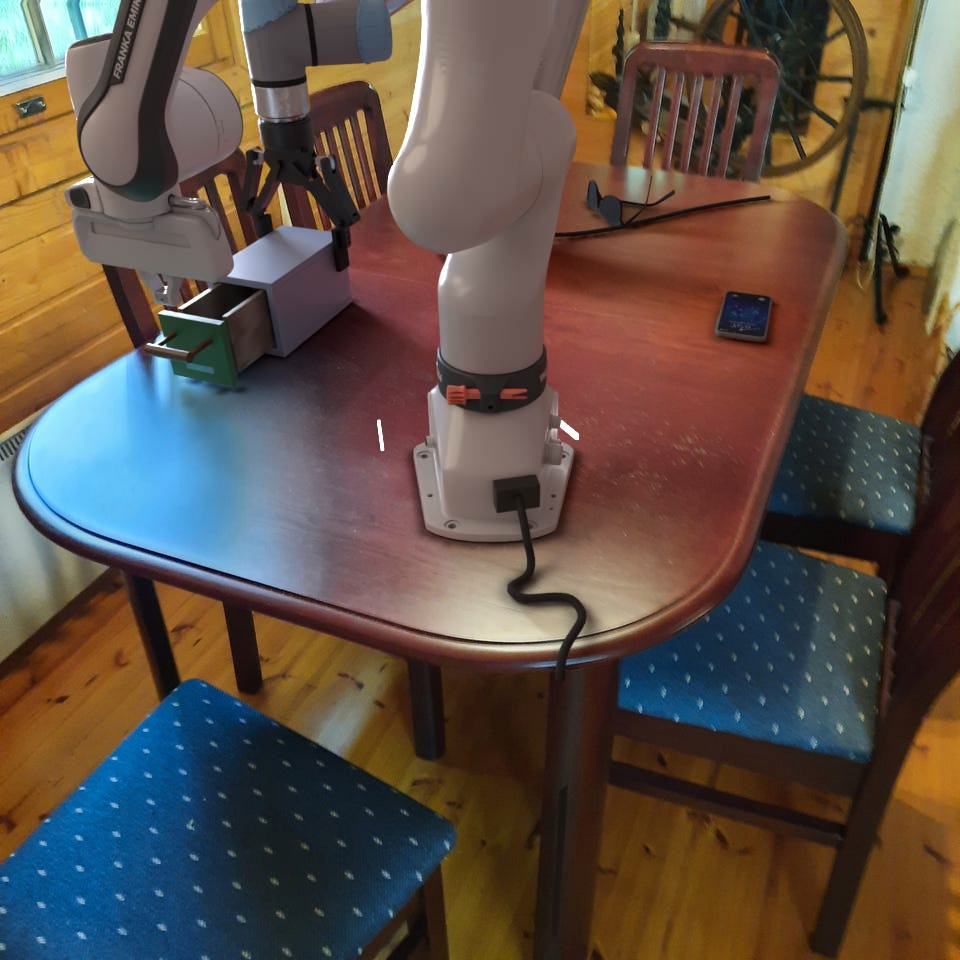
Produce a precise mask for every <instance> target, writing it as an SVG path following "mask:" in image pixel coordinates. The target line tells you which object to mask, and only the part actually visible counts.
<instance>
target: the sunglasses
mask: <svg viewBox="0 0 960 960" xmlns="http://www.w3.org/2000/svg"><path fill="white" fill-rule="evenodd" d="M652 181H653V175H650V178H649V184H648V191H647V196H646V200H645V202H644V203H641V202H635V201H629V200H623V199H620V198H619V197H617V196H615V195H613V194H605V195H604V196H603V197H602V194H601V193H600V190H599V186H598V184H597V181H595V180H594V179H590V180H589V181H588V185H587V191H586V196H585V200H586V203H587V204H588V206H589V207H590V208H591V209H592V210H593V211H594V212H596V213H597V214H598V215H599V216H601V218H603V219H604V220H605V221H607V222H608V223H609V224H611V225H613V226H616V225H624V224H627V223H629V222H633V221H635V219H636V218H638V217H639V216H640V214H642V212H643V211H644V210H645V209H646V208H652V207H656V206H658V205H659V204H660V205H661V203H664V202H665V201H666V200H668V199H669V198H671V197H673V196H675V194H676V189H672V190H671V191H670V192H668V193H667V194H666V195H664V196H663V197H661V198H660V199H658V200H657V201H655V202H652V203H648V202H649V198H650V197H649V196H650V192H651V187H652ZM623 205H629V206H635V207H641V208H640V209H639V210H638V211H637V212H636V213H635V214H634V215H633V216H631V217H630V218H629V219H628V220H626V221H625V222H624V221H623V215H624V208H623V207H624V206H623Z"/></svg>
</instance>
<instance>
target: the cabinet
mask: <svg viewBox="0 0 960 960" xmlns="http://www.w3.org/2000/svg"><path fill="white" fill-rule="evenodd" d="M232 257H233V261H234V268H233V270H232V272H231V273H230V274H229V275H228V276H226V277H225V278H223V279H222V280H220V281H218V282H222V283H228V284H234V285H240V286H246V287H252V288H258V289H264V290H267V296H268V302H269V307H270V312H271V318H272V323H273V329H274V334H275V340H276V344H275V345H274V346H273V347H272V348H270V349H269V350H268V351H267V352H265V353H264V354H267V355H272V356H278V357H282V358H286V357H288V356H289V354H291V353H292V352H293V351H295V350H296V349H297V348H298V347H299V346H300V345H302V343H304V342H305V341H307V340H308V339H309V338H310V337H311V336H312V335H314V334H315V333H316V332H318V331H319V330H320V329H321V328H322V327H323V326H325V325H326V324H327V323H328V322H329V321H331V320H332V319H333V318H334V317H335V316H337V315H338V314H339V313H340V312H341V311H343V310H344V309H345V308H346V307H348V306H349V305H350V304H351V303H353V297H352V291H351V281H350V275H349V274H350V273H349V266H348V267H347V268H346V269H344V270H343V271H342V272H336V264H335V257H334V249H333V241H332V233H331V231H328V230H321V229H314V228H306V227H299V226H291V225H285V224H282V225H280V226H279V227H277V228H276V229H275V228H274V231H272V232H271V233H269V234H267V235H266V236H264V237H263V238H261V239H260V238H259V239H257V240H256V241H255V242H253V243H251V244H249V245H248V246H246V247H245V248H243V249H241V250H240V251H238V252H236V253H235V254H232ZM218 282H216V283H211V282H206V283H207V284H206V285H207V288H208V289H209V288H211V287H212V286H214V285H215V284H217V283H218Z"/></svg>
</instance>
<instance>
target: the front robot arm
mask: <svg viewBox="0 0 960 960" xmlns="http://www.w3.org/2000/svg"><path fill="white" fill-rule="evenodd" d="M218 2H220V0H120V2H119V6H118V9H117V13H116V17H115V21H114V25H113V29H112V31H110V32H105V33H102V34H99V35H93V36H90V37H86V38H82V39H78V40H76V41H74V42H73V43H72V44H70V45H69V47H67V49H66V51H65V59H64V63H65V64H64V65H65V67H64V68H65V76H66V81H67V87H68V92H69V93H68V94H69V96H70V100H71V104H72V110H73V114H74V115H75V120H76V139H77V145H78V150H79V153H80V156H81V159H82V161H83V163H84V166H85V167H86V168H87V170H88V171H89V173H90V174H91V176H89V177H87V178H85V179H82V180H80V181H78V182H75V183H73V184H72V185H70V186H67V187H66V188H64V189H63V193H62V194H63V198H64V200H65V202H66V204H67V206H68V207H70V208H71V210H70V220H71V224H72V228H73V232H74V235H75V238H76V241H77V244H78V248H79V250H80V252H81V254H82V255H83V256H84V257H85V258H86V260H88V261H89V262H90V263H94V264H100V265H105V266H112V267H117V268H118V267H119V268H123V269H129V270H136V271H137V275H138V278H139V279H140V280H141V282H143V284H144V286H146V288H147V289H148V290H149V291H150V293H151V297H152V301H153V303H154V304H156V305H162V306H168V307H174V308H176V307H177V306H179V305H180V304H182V301H183V299H182V294H181V290H180V289H181V288H182V284H183V281H184V279H189V280H195V281H201V282H206V283H207V282H211V283H216V282H218V281H220V280H222V279H223V278H225V277H226V276H228V275H229V274H230V273H231V272H232V270H233V268H234V261H233V257H232V256H233V253H232V250H231V246H230V244H229V240H228V238H227V234H226V231H225V229H224V227H223V224H222V222H221V218H220V214H219V213H218V211H217V209H215V208H214V207H213V206H212V205H210V204H209V203H208V202H207V201H206V200H205V199H202V198H197V197H195V198H191V197H187V196H183V195H182V191H181V187H180V183H182V182H184V181H185V180H188V179H190V178H192V177H194V176H196V175H198V174H200V173H202V172H204V171H206V170H207V169H208V168H210V167H212V166H214V165H217V164H219V163H220V162H222V161H224V160H225V159H227V158H229V157H230V156H231V155H232V154H234V153H235V152H237V150H238V149H239V147H240V145H241V143H242V140H243V135H244V120H243V118H244V117H243V113H242V109H241V106H240V104H239V101H238V99H237V97H236V95H235V94H234V92H233V91H232V89H231V88H230V86H229V85H228V84H227V83H226V82H225V81H224V80H223V79H222V78H220V76H218V75H217V74H216V73H214V72H211V71H209V70H207V69H203V68H195V67H192V66H190V65H187V64H185V63H186V60H187V57H188V53H189V51H190V47H191V43H192V40H193V39H194V38H193V37H194V35H195V33H196V31H197V29H198V27H199V25H200V24H201V22H202V21H203V19H204V18H205V16H206V15H207V14H208V13H209V11H210V10H211V9H212V8H213V7H214V6H215V5H216V4H217V3H218ZM420 5H421V6H420V9H421V32H420V33H421V35H420V47H419V48H420V49H419V55H418V56H419V57H418V63H417V71H416V79H415V84H414V91H413V96H412V103H411V107H410V108H411V109H410V113H409V119H408V124H407V128H406V132H405V135H404V138H403V142H402V145H401V146H400V149H399V152H398V154H397V156H396V158H395V160H394V162H393V165H392V166H391V168H390V170H389V173H388V179H387V183H386V184H387V187H386V193H387V201H388V206H389V209H390V212H391V215H392V218H393V220H394V221H395V223H396V225H397V227H398V228H399V230H400V231H401V233H403V235H404V236H405V237H406V238H407V239H408V240H410V241H411V242H412V243H413V244H414V245H415V246H417V247H419V248H420V249H422V250H424V251H426V252H429V253H433V254H437V255H443V254H448V256H447V259H446V258H445V261H444V264H443V266H442V267H441V270H440V273H439V277H438V283H437V307H438V324H439V326H438V327H439V342H440V343H439V344H440V345H439V346H438V348H437V354H436V356H437V358H436V363H435V364H436V376H437V384H436V385H435V387H434V386H433V388H432V389H431V390H430V391H428V392H427V406H428V407H427V409H428V424H429V435H426V436H425V438H424V442H422V443H419V444H417V445H416V446H415V447H414V448H413V454H412V455H413V457H412V458H413V464H414V470H415V475H416V476H415V477H416V480H417V487H418V492H419V498H420V499H419V500H420V503H421V504H420V505H421V510H422V516H423V522H424V526H425V529H426V530H427V531H428V532H429V533H432V534H434V535H437V536H440V537H443V538H448V539H452V540H457V541H466V542H477V543H478V542H480V543H500V542H501V543H502V542H503V543H506V542H518V541H522V542H523V543H522V544H523V547H524V552H525V556H526V567H525V570H524V572H523V573H522V574H521V575H520V576H518V577H516V578H514V579H513V580H511V581H510V582H508V584H507V587H506V591H507V594H508V595H509V596H510V597H511V598H512V599H513V600H515V601H516V602H520V603H524V604H536V603H537V604H538V603H551V602H562V603H567V604H569V605H571V606H572V607H573V608H574V610H575V612H576V616H577V618H576V620H575V622H574V624H573V625H572V627H571V628H570V629H569V631H568V633H567V634H566V636H565V637H564V638H563V641H562V643H561V645H560V648H559V650H558V653H557V657H556V662H555V663H556V664H555V679H554V680H555V681H556V682H557V683H558V684H561V683H564V682H565V680H566V668H567V660H568V656H569V653H570V652H571V649H572V647H573V645H574V643H575V641H576V640H577V638H578V636H579V635H580V634H581V632H582V630H583V629H584V627H585V625H586V622H587V616H588V615H587V614H588V613H587V610H586V608H585V605H584V604H583V603H582V602H581V600H580V599H578V598H577V597H576V596H575V595H573V594H570V593H568V592H567V593H566V592H557V591H555V592H540V593H523V592H520V591H518V590H517V588H519V587H520V586H522V585H525V583H527V582H529V581H530V580H531V579H532V577H533V576H534V574H535V570H536V554H535V549H534V545H533V541H532V539H536V538H539V537H543V536H546V535H548V534H550V533H552V532H554V531H556V530H557V527H558V525H559V520H560V518H561V517H560V516H561V512H562V508H563V504H564V500H565V497H566V492H567V488H568V483H569V480H570V476H571V472H572V469H573V468H572V467H573V464H574V459H575V450H574V447H573V446H571V445H570V444H568V443H566V442H563V441H561V439H560V438H558V430H560V429H562V430H563V431H565V432H566V433H567V434H568V435H570V436H571V437H572V439H574V440H576V441H577V440H578V441H579V439H580V438H579V437H580V435H579V433H578V432H577V431H575V429H573V428H572V427H570V425H568V424H567V423H566V422H565V421H563V420H562V416H559V392H557V391H556V390H555V389H554V388H553V387H552V386H551V385H550V384H549V383H548V382H547V379H548V367H549V361H548V356H547V355H548V354H547V353H548V351H547V347H546V345H545V344H544V323H545V322H544V321H545V297H546V296H545V295H546V283H547V274H548V269H549V263H550V257H551V253H552V249H553V244H554V241H555V240H554V239H555V237H554V236H555V232H556V230H557V225H558V221H559V216H560V215H559V214H560V209H561V203H562V198H563V194H564V193H563V192H564V188H565V183H566V180H567V177H568V174H569V171H570V168H571V166H572V163H573V161H574V159H575V155H576V151H577V145H578V144H577V141H578V140H577V138H578V137H577V131H576V129H577V128H576V127H575V122H574V120H573V118H572V116H571V114H570V112H569V110H568V109H567V108H566V106H565V105H564V104H563V103H562V102H561V101H559V100H558V99H556V98H555V97H554V96H552V95H550V94H548V93H546V92H543V91H539V90H532V88H533V84H534V79H535V75H536V71H537V67H538V64H539V60H540V57H541V54H542V51H543V49H544V47H545V45H546V42H547V40H548V37H549V33H550V28H551V10H552V0H420ZM158 274H159V275H161V277H162V279H161V278H160V276H159V275H158ZM162 280H163V281H162ZM164 282H166V283H167V284H166V286H165V284H164ZM377 429H378V436H379V437H378V439H379V445H380V451H381V452H382V451H385V447H384V440H383V432H382V425H381V419H378V420H377ZM568 790H569V784H568V783H566V785H564V786H563V787H561V789H559V790H558V807H557V826H556V845H555V860H554V873H553V874H554V875H553V887H552V889H553V890H552V903H551V904H552V905H551V922H550V924H551V925H550V935H551V936H553V937H557V936H558V935H559V925H560V911H561V909H560V908H561V896H562V880H563V869H564V857H565V856H564V855H565V846H566V845H565V843H566V832H567V831H566V830H567V813H568V811H567V810H568V795H569V791H568Z"/></svg>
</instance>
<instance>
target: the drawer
mask: <svg viewBox="0 0 960 960" xmlns="http://www.w3.org/2000/svg"><path fill="white" fill-rule="evenodd" d="M177 310H178V312H176V311H171V310H165V309H163V310H161V311H159V312H158V313H157V318H158V320H159V324H160V327H161V331H162V335H163V337H162V338H160V339H159V340H157V341H156V342H155V343H146V344H145V345H144V347H143V352H144V354H145V355H147V356H151V357H156V358H160V359H165V360H169V361H170V366H171V369H172V371H173V375H174V376H178V377H183V378H188V379H192V380H197V381H202V382H206V383H211V384H216V385H221V386H226V387H229V388H230V387H231V388H234V387H236V386H237V385H239V379H238V374H240V373H241V372H243V371H244V370H245V369H247V368H248V367H249V366H250V365H251V364H253V363H254V362H256V361H257V360H258V359H259V358H260V357H262V356H263V355H264V354H266V353H265V352H267V351H268V350H269V349H270V348H272V347H273V346H274V345H275V344H276V340H275V334H274V329H273V323H272V318H271V312H270V307H269V302H268V296H267V290H264V289H258V288H252V287H246V286H240V285H234V284H228V283H222V282H218V283H217V284H215V285H214V286H212V287H211V288H209V289H206V290H204V291H203V292H201V293H199V294H198V295H197V296H195V297H193V298H192V299H190V300H188V301H187V302H186V303H184V304H182V305H181V306H179V307H178V308H177Z"/></svg>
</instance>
